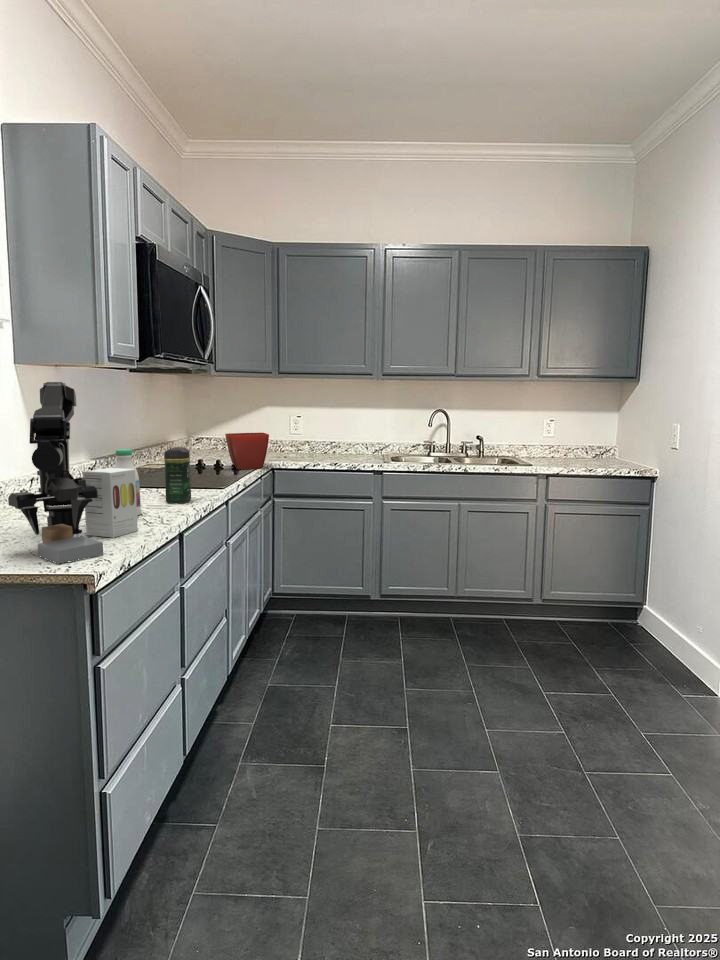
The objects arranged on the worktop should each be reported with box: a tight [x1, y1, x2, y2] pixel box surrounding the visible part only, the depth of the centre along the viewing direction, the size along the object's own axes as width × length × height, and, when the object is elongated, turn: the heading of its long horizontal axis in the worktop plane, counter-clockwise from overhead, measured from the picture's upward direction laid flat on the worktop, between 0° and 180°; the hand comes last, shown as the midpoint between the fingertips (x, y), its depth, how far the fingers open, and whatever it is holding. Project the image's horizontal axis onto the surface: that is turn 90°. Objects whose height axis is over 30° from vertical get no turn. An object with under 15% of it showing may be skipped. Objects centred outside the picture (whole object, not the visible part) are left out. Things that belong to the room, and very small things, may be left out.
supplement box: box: [82, 467, 139, 539], centre depth 164 cm, size 10×9×17 cm
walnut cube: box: [41, 524, 74, 543], centre depth 150 cm, size 5×5×5 cm
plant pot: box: [225, 432, 270, 470], centre depth 306 cm, size 19×19×17 cm
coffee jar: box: [163, 446, 192, 504], centre depth 211 cm, size 10×8×19 cm
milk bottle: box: [114, 448, 142, 517], centre depth 187 cm, size 8×8×20 cm
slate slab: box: [37, 535, 104, 564], centre depth 141 cm, size 10×10×3 cm
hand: (57, 531), depth 150 cm, fingers open, 9 cm apart
